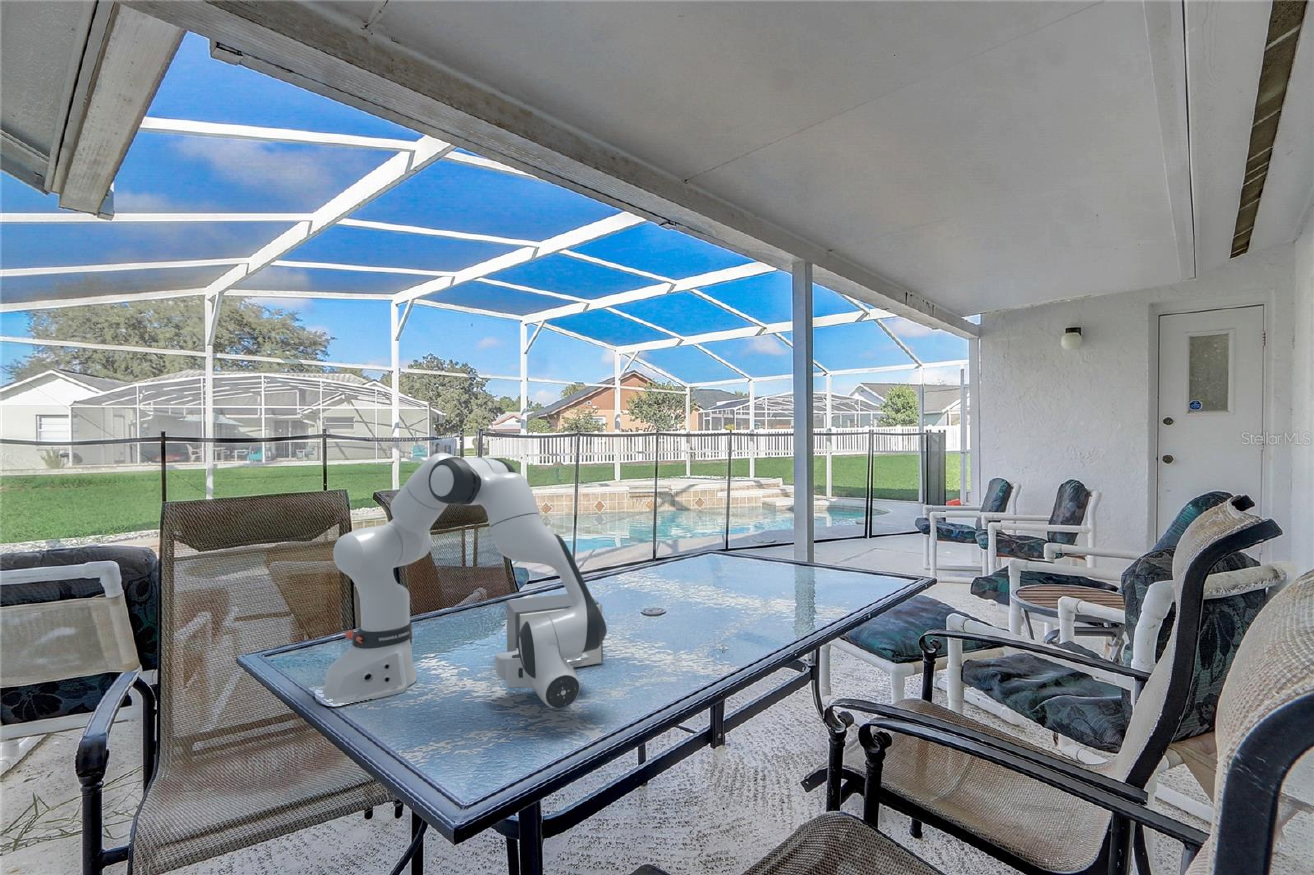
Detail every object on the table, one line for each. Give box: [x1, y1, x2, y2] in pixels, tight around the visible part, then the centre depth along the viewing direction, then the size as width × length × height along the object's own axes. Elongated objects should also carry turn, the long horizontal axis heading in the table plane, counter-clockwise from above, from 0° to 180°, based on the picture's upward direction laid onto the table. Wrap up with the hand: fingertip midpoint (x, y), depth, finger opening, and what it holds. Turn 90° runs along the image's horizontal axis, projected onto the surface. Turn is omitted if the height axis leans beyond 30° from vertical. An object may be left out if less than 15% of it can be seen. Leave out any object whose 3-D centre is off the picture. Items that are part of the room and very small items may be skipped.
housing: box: [506, 593, 600, 652], centre depth 159 cm, size 22×14×16 cm, turn 113°
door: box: [519, 604, 604, 668], centre depth 149 cm, size 22×7×15 cm, turn 113°
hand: (533, 649), depth 145 cm, fingers open, 6 cm apart
